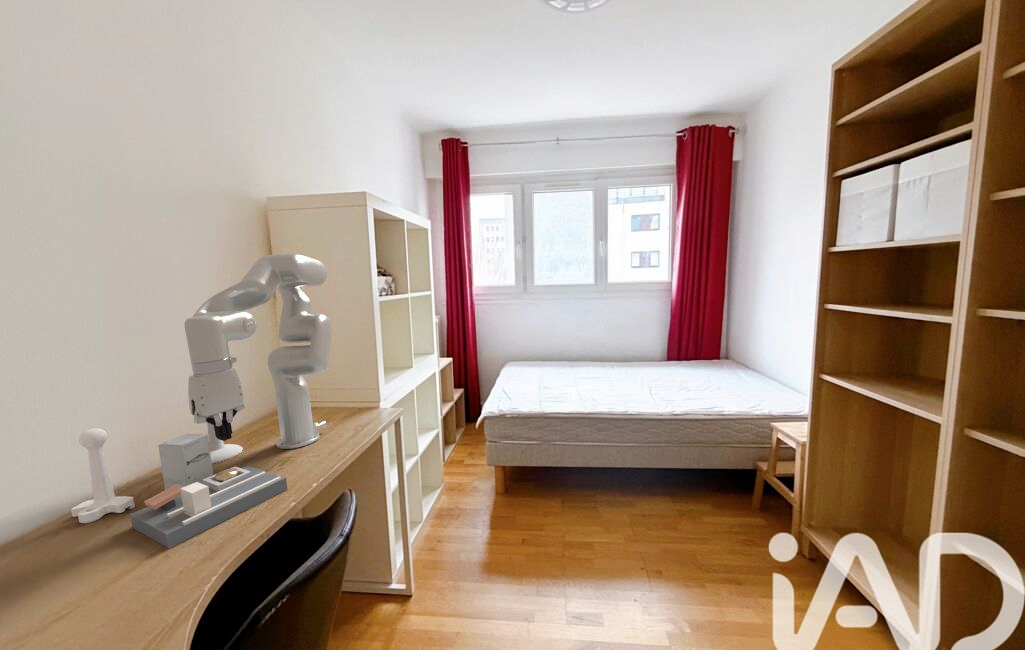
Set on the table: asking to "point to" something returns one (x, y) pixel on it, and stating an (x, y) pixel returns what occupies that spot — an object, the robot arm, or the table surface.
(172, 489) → the rocker switch
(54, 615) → the table surface
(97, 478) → the joystick
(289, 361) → the robot arm
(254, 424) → the table surface
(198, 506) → the white slider block
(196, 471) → the supplement box
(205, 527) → the control panel
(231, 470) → the push button
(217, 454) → the candlestick
